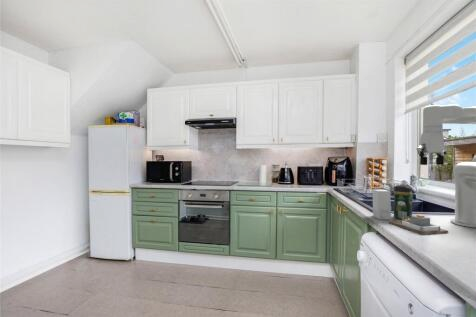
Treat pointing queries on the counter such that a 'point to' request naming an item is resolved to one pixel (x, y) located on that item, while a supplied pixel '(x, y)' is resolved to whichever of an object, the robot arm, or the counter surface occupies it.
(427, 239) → the counter surface
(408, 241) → the counter surface
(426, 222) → the connector block
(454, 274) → the counter surface
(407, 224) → the end holder
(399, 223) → the board
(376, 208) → the skincare box
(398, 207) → the coffee jar
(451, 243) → the counter surface
